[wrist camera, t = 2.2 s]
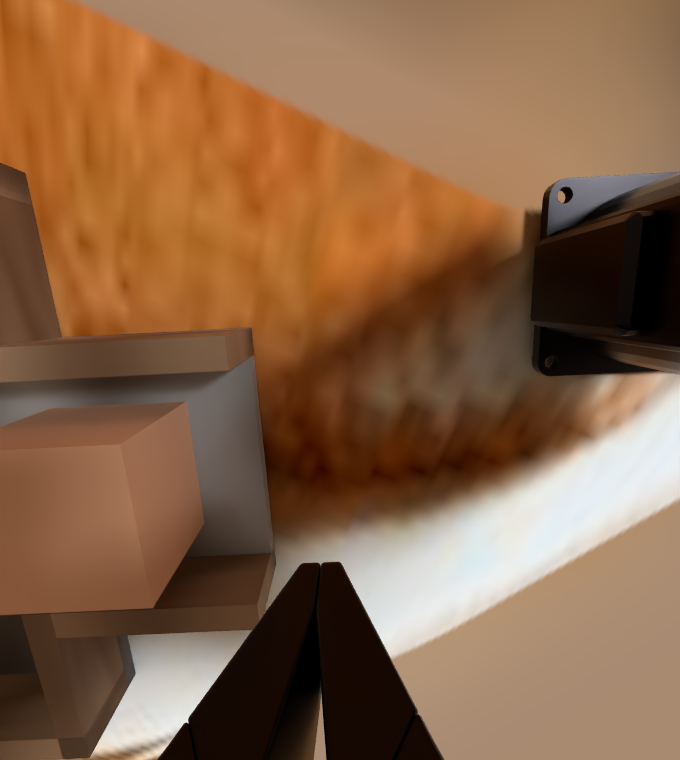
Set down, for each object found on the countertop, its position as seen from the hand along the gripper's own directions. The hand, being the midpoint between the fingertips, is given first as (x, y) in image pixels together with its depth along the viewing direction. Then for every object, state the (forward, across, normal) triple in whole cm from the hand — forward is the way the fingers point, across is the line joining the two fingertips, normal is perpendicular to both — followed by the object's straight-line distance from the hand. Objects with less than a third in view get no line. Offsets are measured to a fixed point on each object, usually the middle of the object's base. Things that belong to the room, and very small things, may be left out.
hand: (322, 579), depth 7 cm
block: (+6, +8, 0) cm, 10 cm away
